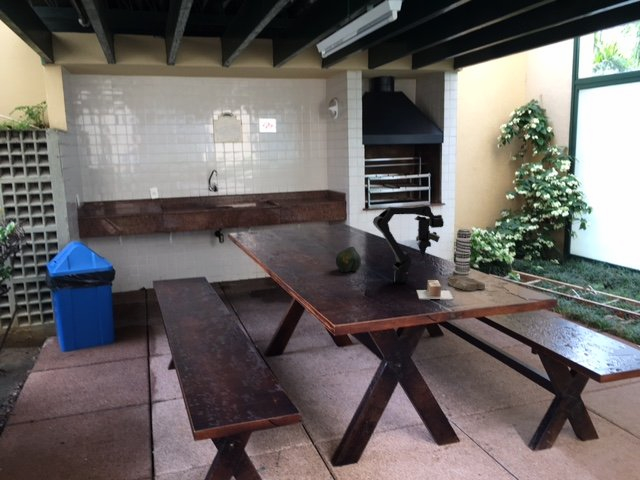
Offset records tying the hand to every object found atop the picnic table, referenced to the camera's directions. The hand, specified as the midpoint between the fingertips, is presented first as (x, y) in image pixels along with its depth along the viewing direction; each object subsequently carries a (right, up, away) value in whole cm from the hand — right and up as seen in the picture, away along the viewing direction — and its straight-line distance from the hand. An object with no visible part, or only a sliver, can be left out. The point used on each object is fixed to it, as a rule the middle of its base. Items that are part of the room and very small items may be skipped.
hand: (422, 256), depth 286 cm
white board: (0, -18, -27) cm, 32 cm away
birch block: (+1, -14, -19) cm, 24 cm away
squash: (-39, -9, +26) cm, 48 cm away
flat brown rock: (+19, -15, -9) cm, 26 cm away
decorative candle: (+26, -10, +19) cm, 34 cm away
